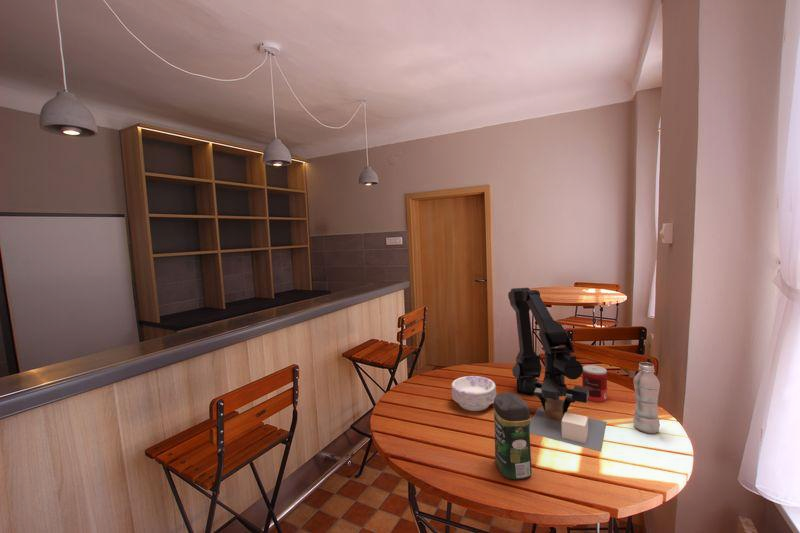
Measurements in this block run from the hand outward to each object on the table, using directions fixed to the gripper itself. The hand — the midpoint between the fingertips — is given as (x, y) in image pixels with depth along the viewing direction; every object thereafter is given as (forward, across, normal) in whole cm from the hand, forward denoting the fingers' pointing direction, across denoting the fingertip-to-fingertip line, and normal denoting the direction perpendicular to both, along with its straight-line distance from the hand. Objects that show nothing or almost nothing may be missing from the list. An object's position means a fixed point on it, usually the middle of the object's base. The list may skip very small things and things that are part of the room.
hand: (555, 415), depth 114 cm
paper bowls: (+1, -26, -4) cm, 26 cm away
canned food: (+1, +9, +21) cm, 23 cm away
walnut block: (0, 0, 0) cm, 0 cm away
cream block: (0, +7, -9) cm, 11 cm away
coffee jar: (+1, -4, -32) cm, 32 cm away
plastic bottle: (+1, +24, +5) cm, 25 cm away
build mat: (+1, +4, -5) cm, 6 cm away
